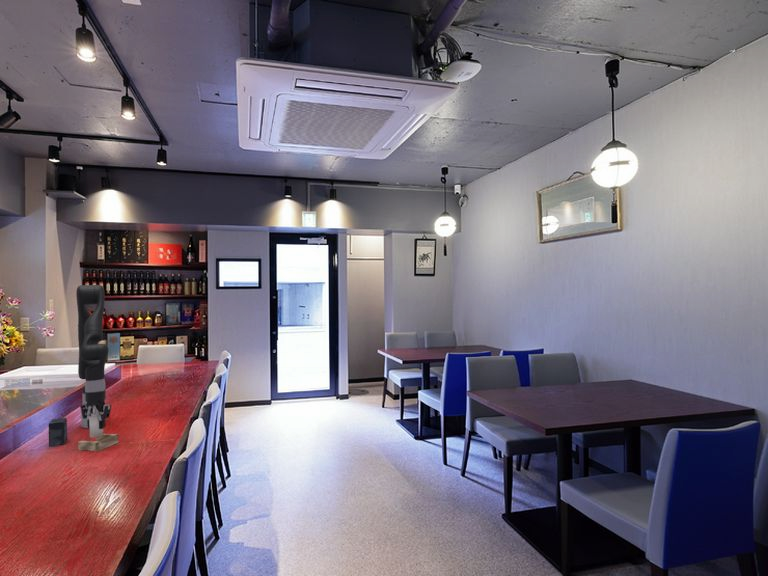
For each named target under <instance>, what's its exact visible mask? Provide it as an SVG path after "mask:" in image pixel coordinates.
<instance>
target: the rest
mask: <svg viewBox="0 0 768 576" xmlns="http://www.w3.org/2000/svg"><path fill="white" fill-rule="evenodd" d="M95 439H96V440H95V441H94V440H80V441H78V442H77V448H78V449H77V450H78V451H83V450H88V451H87V452H100V451H102V450H104V449H106V448H109V447H112V446H113V445H115V444H118V443H119V433H103V436H100V437H96V438H95ZM89 450H90V451H89Z"/></svg>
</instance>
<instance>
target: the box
mask: <svg viewBox="0 0 768 576" xmlns="http://www.w3.org/2000/svg"><path fill="white" fill-rule="evenodd" d="M67 441H68V417H59V418H52V419H51V420H50V422H48V447H49V448H51V447H57V446H59V447H60V446H64V444H65V443H66V442H67Z"/></svg>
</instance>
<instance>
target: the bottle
mask: <svg viewBox="0 0 768 576" xmlns="http://www.w3.org/2000/svg"><path fill="white" fill-rule="evenodd" d="M94 406H95V405H92V407H93V413H91V416H89V428H88V429H89V438H90V439H91V438H92V439H96V437H100V436H103V434H104V428H103V429H99V421H100V420H99V417H98V416H97V415H96V413H95V410H94ZM100 413H101V412H100ZM101 416H102V415H101Z"/></svg>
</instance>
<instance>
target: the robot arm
mask: <svg viewBox="0 0 768 576" xmlns="http://www.w3.org/2000/svg"><path fill="white" fill-rule="evenodd" d="M75 294H76V295H75V296H76V306H77V316H78V317H77V318H78V319H77V321H78V322H77V335H78V337H77V339H78V340H77V341H78V365H77V366H78V367H77V368H78V370H77V372H78V378H79V379H80V380H85V381H84V382H85V384H84V386H83V387H82V392H81V393H82V395H81V396H82V405H80V415H81V417H80V422H81V428H84V429H89V416H91V413H93V407H92V405H95V406H94V410H95V413H96V415H97V416H98V417H99V420H100V421H99V429H103V430H104V429H105V427H106V419H109V418H110V417H111V410H112V404H106V402H105V400H106V398H107V395H106V379H105V378H106V377H105V367H106V361H107V359H108V355H109V347H108V345H107V344H105V343H100V342H101V341H103V339H104V333H103V331H104V329H103V320H104V310H105V301H106V300H105V295H106V294H105V288H104V287H103V285H101V284H81V285H78V286H77V288H76V293H75ZM86 305H95V308H94V310H93V311H92V313H90V312H89V311H88V308H87V306H86ZM100 412H101V413H100ZM101 415H102V416H101Z"/></svg>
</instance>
